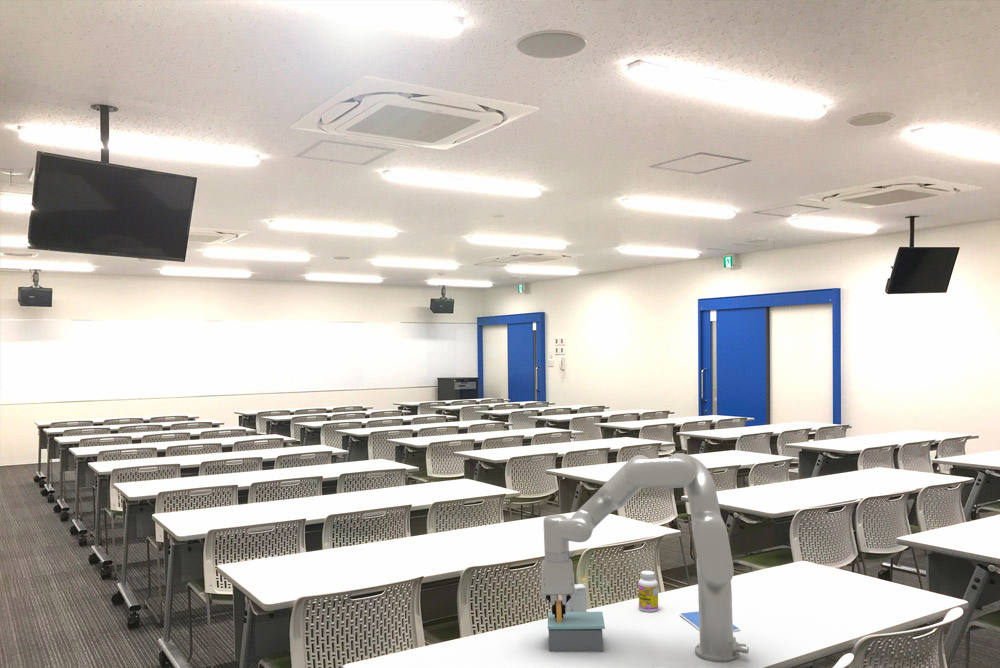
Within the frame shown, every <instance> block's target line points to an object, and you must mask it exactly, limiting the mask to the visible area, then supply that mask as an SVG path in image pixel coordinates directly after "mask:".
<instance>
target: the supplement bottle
mask: <svg viewBox="0 0 1000 668" xmlns="http://www.w3.org/2000/svg"><path fill="white" fill-rule="evenodd" d="M655 576H656V574H655V572H654V571H652V570H643V571H641V572H640V577H641V578H640V579H639V580H638V609H639V610H640V611H642V612H644V613H655V612H657V611H658V610H659V587H658V585H659V584H658V581H657V579H655Z"/></svg>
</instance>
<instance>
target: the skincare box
mask: <svg viewBox="0 0 1000 668" xmlns="http://www.w3.org/2000/svg"><path fill="white" fill-rule="evenodd" d="M575 589H576V591H577V596H576V597H574V598H571V599H570V600H569V601H568V602H567V603H566V605H565V610H566V612H587V587H586V586H585V585H584V584H582V583H578V584H576V583H575Z"/></svg>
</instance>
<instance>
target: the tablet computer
mask: <svg viewBox="0 0 1000 668" xmlns="http://www.w3.org/2000/svg"><path fill="white" fill-rule="evenodd" d="M679 617H681V618H683V620H685V621H686V622H687V623H689V624H690V625H692V627H694V628H695V629H697V630H698V631H699V632H700V629H699V610H698V611H691V612H681V613H679ZM739 631H740V632H741V629H740V628H739V627H738V626H736V625H734V624H733V633H739Z"/></svg>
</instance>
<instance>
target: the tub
mask: <svg viewBox="0 0 1000 668" xmlns="http://www.w3.org/2000/svg"><path fill="white" fill-rule="evenodd" d="M603 638H604V637H603V629H548V652H556V653H557V652H558V653H559V652H560V653H561V652H563V653H564V652H565V653H566V652H569V653H570V652H571V653H572V652H573V653H577V652H579V653H581V652H587V653H588V652H590V653H591V652H592V653H595V652H596V653H598V652H599V653H603V652H604V646H603V645H604V642H603Z"/></svg>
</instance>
